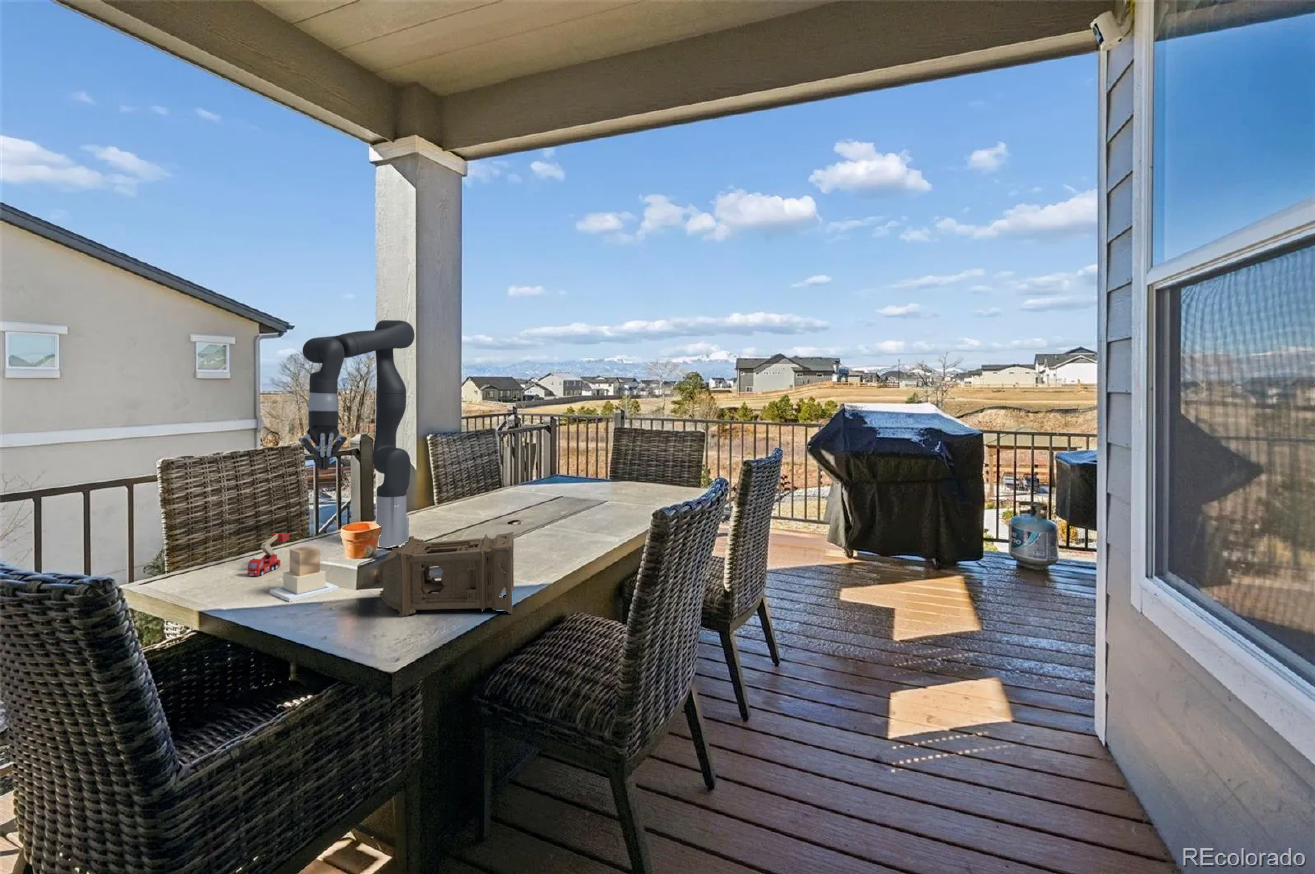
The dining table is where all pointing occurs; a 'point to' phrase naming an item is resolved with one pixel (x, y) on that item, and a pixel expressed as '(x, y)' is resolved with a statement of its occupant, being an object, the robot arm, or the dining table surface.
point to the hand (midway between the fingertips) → (323, 469)
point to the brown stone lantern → (448, 574)
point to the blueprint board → (302, 596)
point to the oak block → (304, 560)
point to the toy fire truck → (266, 557)
